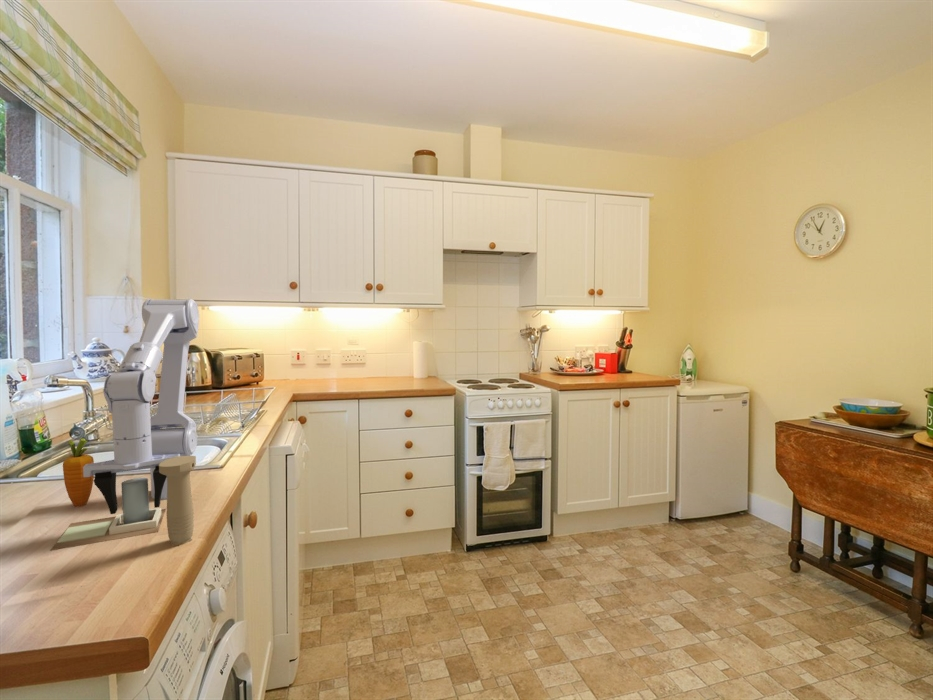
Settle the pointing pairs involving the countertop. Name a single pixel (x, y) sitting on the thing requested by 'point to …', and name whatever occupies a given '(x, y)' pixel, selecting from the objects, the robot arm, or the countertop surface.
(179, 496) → the handle
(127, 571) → the countertop surface
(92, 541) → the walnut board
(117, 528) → the cream square frame
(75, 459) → the carrot
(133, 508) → the grey-blue cylinder
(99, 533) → the pad
